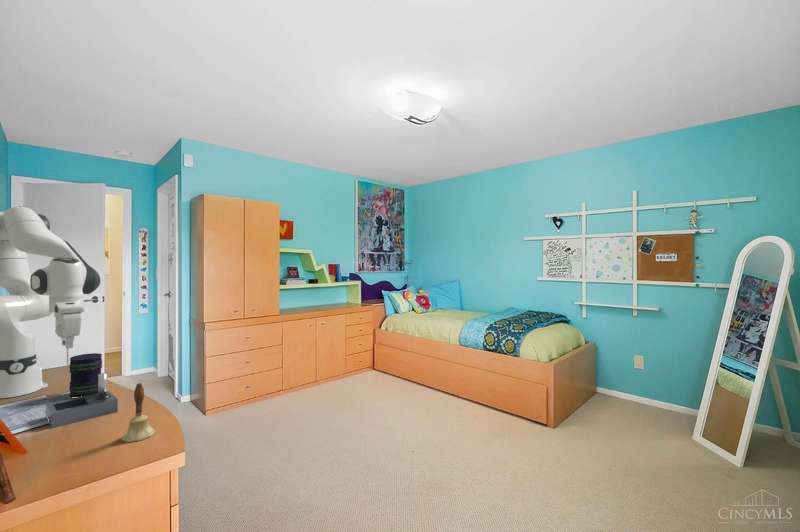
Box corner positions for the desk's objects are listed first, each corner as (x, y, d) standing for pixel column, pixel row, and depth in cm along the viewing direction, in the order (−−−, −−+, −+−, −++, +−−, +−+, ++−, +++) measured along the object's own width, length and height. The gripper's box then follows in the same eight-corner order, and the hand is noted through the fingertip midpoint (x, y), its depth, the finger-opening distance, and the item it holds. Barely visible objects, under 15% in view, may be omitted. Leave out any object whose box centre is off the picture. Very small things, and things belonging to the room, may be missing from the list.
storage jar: (79, 399, 139) (79, 360, 139) (63, 396, 142) (63, 358, 142) (108, 391, 148) (108, 354, 148) (91, 388, 151) (91, 352, 151)
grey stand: (51, 428, 116) (51, 388, 115) (45, 417, 123) (45, 379, 123) (117, 411, 129) (117, 375, 129) (108, 402, 136) (108, 368, 136)
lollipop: (83, 363, 125) (82, 320, 125) (61, 368, 120) (60, 322, 120) (73, 361, 128) (72, 318, 128) (51, 366, 122) (51, 321, 122)
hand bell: (118, 436, 111) (118, 384, 111) (150, 426, 118) (150, 377, 117) (126, 445, 106) (126, 390, 106) (159, 435, 112) (159, 383, 112)
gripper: (49, 304, 128) (50, 343, 128) (59, 309, 115) (59, 352, 115) (73, 302, 133) (73, 340, 133) (85, 307, 119) (85, 349, 120)
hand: (67, 346), depth 124 cm, fingers closed on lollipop, 5 cm apart
